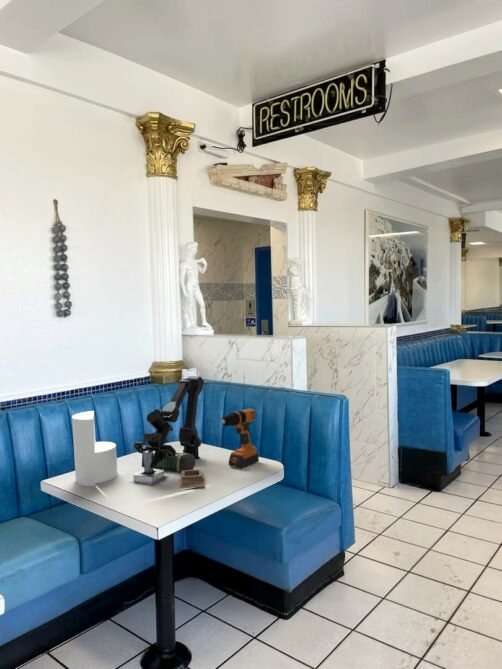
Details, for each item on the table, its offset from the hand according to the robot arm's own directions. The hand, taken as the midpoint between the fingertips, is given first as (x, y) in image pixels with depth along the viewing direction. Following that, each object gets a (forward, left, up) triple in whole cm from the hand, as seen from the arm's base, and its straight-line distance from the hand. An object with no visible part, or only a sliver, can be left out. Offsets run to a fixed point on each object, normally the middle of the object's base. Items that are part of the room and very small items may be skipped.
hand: (146, 467), depth 215 cm
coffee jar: (-10, -16, -3) cm, 19 cm away
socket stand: (-1, -1, -7) cm, 7 cm away
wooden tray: (-15, +11, -7) cm, 20 cm away
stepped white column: (+16, -19, -7) cm, 26 cm away
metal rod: (-1, -1, -6) cm, 6 cm away
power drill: (-42, +5, -7) cm, 43 cm away
